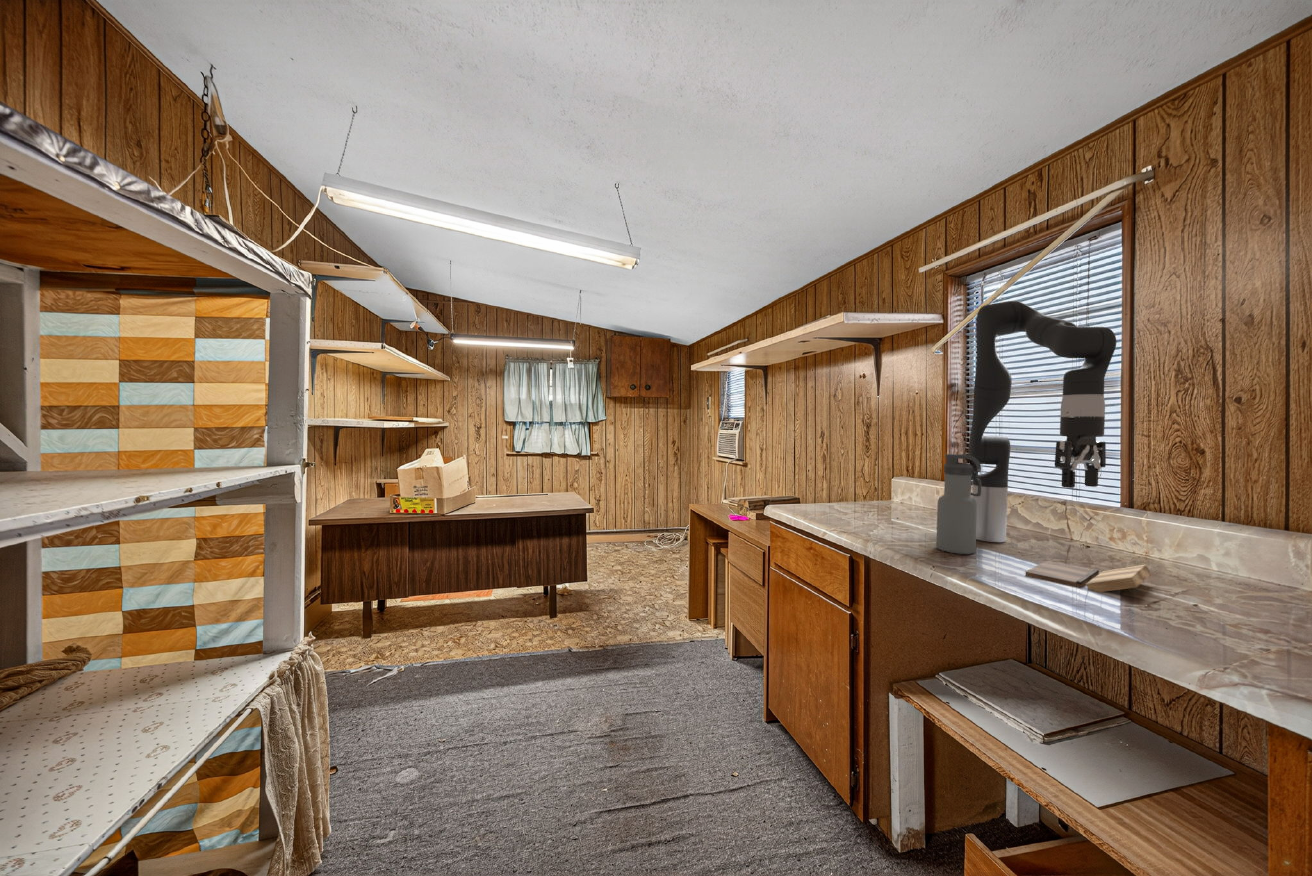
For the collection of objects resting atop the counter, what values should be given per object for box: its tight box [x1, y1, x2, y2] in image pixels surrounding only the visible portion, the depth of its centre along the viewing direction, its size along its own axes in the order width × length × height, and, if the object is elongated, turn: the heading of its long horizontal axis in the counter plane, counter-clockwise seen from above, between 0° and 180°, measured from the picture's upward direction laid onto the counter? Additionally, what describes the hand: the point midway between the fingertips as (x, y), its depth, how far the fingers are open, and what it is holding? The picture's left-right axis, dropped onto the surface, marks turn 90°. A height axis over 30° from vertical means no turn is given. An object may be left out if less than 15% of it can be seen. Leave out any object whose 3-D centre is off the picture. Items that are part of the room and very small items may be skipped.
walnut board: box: [1024, 560, 1100, 589], centre depth 114 cm, size 16×10×2 cm, turn 127°
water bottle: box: [935, 453, 982, 555], centre depth 139 cm, size 10×10×28 cm
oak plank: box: [1085, 564, 1151, 593], centre depth 106 cm, size 16×8×2 cm, turn 127°
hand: (1079, 487), depth 109 cm, fingers open, 8 cm apart
